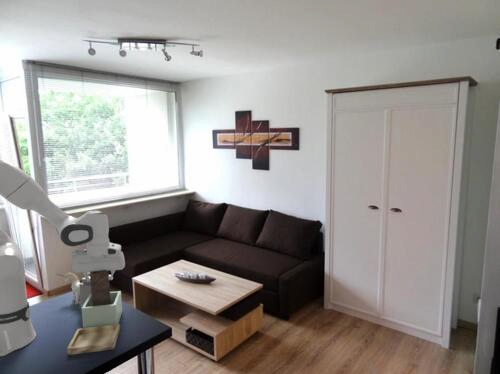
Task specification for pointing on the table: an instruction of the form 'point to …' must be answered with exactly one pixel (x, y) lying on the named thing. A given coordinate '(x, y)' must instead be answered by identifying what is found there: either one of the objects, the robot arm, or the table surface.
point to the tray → (94, 339)
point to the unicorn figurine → (73, 285)
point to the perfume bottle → (84, 290)
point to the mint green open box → (102, 312)
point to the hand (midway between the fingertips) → (99, 280)
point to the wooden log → (100, 288)
